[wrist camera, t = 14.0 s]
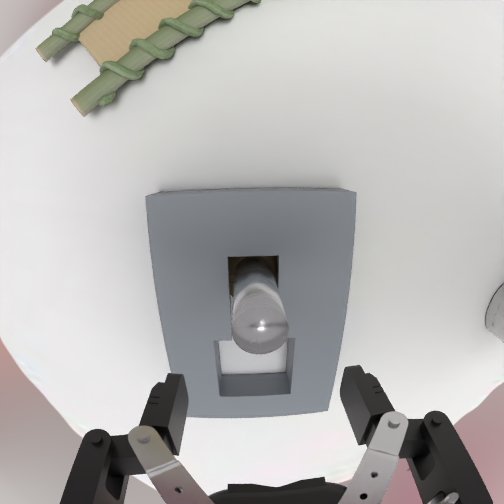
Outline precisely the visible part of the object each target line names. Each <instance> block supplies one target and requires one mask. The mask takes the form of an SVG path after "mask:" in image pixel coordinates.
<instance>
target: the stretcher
mask: <svg viewBox="0 0 504 504" xmlns="http://www.w3.org/2000/svg"><path fill="white" fill-rule="evenodd" d="M249 1H252V2H254V3H259V2H260V1H261V0H94V1H93V2H91V3H90V4H89V5H88V6H86V5H84V4H82V5H80V6H78V7H77V8H75V9H74V11H73V14H72V19H71V20H70V21H68V22H67V23H66V24H65V25H64V26H63V27H61V28H55V29H54V30H53V31H52V35H51V36H50V37H49V38H47V39H46V40H45V41H44V42H43V43H41V44H40V45H39V46H38V47H37V48H36V50H37V52H38V53H39V55H40V56H41V57H42V59H43V60H44V61H45V62H47V61H48V60H49V59H50V58H52V57H53V56H54V55H55V54H56V53H57V52H59V51H60V50H61V49H62V48H63V47H65V46H66V45H67V44H68V43H70V42H71V41H73V42H77V41H80V42H81V44H82V45H83V46H84V47H85V48H86V50H87V51H88V52H89V53H90V54H91V56H92V57H93V58H94V59H95V60H96V62H97V63H98V64H99V65H100V66H101V68H100V73H101V75H100V76H98V77H97V78H96V79H95V80H93V81H92V82H91V83H90V84H88V85H87V86H86V87H85V88H83V89H82V90H81V91H80V92H79V93H78V94H76V95H75V96H74V97H73V98H72V99H71V102H72V103H73V105H74V106H75V107H76V109H77V110H78V111H79V112H80V113H81V114H82V115H83V116H84V117H85V116H86V115H87V114H88V113H89V112H90V111H92V110H93V109H94V108H95V107H96V106H97V105H99V104H100V106H105V105H107V104H109V103H111V102H112V101H113V99H114V98H115V96H116V92H115V91H116V90H117V89H118V88H119V87H121V86H122V85H123V84H124V83H125V82H126V81H128V80H137V79H140V78H141V77H142V75H143V73H144V71H145V70H144V67H145V66H146V65H148V64H149V63H150V62H152V61H153V60H154V59H156V58H158V59H161V60H162V59H168V58H170V57H172V55H173V53H174V51H175V48H174V45H175V44H177V43H178V42H180V41H181V40H183V39H185V38H186V37H188V36H192V37H199V36H201V34H202V33H203V31H204V26H205V25H207V24H208V23H210V22H212V21H214V20H215V19H217V18H219V17H221V18H226V19H230V18H232V16H233V15H234V11H233V9H235V8H237V7H239V6H241V5H243V4H245V3H247V2H249Z"/></svg>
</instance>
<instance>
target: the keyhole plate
mask: <svg viewBox="0 0 504 504" xmlns="http://www.w3.org/2000/svg"><path fill="white" fill-rule="evenodd" d="M146 210H147V222H148V233H149V243H150V252H151V260H152V268H153V276H154V283H155V290H156V296H157V303H158V309H159V314H160V320H161V326H162V331H163V336H164V341H165V346H166V351H167V356H168V361H169V365H170V370H171V373H175V374H183V375H184V378H185V383H186V387H187V392H188V398H189V404H188V410H187V415H186V417H199V418H255V417H274V416H287V415H298V414H307V413H315V412H323V411H328V408H329V403H330V399H331V394H332V390H333V385H334V380H335V375H336V370H337V365H338V360H339V354H340V349H341V343H342V337H343V331H344V324H345V317H346V310H347V303H348V295H349V287H350V278H351V268H352V257H353V245H354V231H355V214H356V192H353V191H349V190H344V189H332V188H234V189H206V190H186V191H170V192H158V193H155V194H151V195H148V196H146ZM240 256H277V288H278V291H279V294H280V298H281V301H282V304H283V308H284V311H285V314H286V318H287V321H288V325H289V334H288V337H287V338H288V349H287V365H286V372H284V373H267V374H239V375H221V366H220V356H219V345H218V341H219V340H232V323H231V305H230V285H229V263H228V257H240Z"/></svg>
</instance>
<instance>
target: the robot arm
mask: <svg viewBox="0 0 504 504" xmlns="http://www.w3.org/2000/svg"><path fill="white" fill-rule="evenodd" d="M486 327H487V329H488V330H489V331H490V332H492V333H493V334H494V335H495V336H497V337H498V338H499V339H500V340H501V341H502V342H504V284H503V285H502V286H501V287H500V288H499V289H498V291H497V292H496V294H495V295H494V297H493V299H492V301H491V303H490V305H489V308H488V311H487V315H486ZM340 397H341V401H342V403H343V406H344V408H345V411H346V414H347V416H348V419H349V421H350V424H351V427H352V429H353V432H354V435H355V437H356V440H357V443H358V445H363V444H366V445H367V450H366V452H365V454H364V456H363V458H362V460H361V462H360V464H359V466H358V468H357V470H356V472H355V474H354V476H353V478H352V479H351V481H350V483H349V485H348V487H345V486H343V485H339V484H336V483H330V482H325V478H324V477H320V478H313V479H306V480H300V481H297V482H294V483H291V484H288V485H284V486H281V487H270V486H263V485H256V484H228V489H227V490H222V491H219V492H216V493H214V494H211V495H210V496H207V495H206V493H205V492H204V491H203V490H202V489H201V488H200V486H199V485H198V484H197V483H196V482H195V480H194V479H193V478H192V477H191V475H190V474H189V473H188V472H187V470H186V469H185V468H184V466H183V465H182V464H181V463H180V462H179V461H177V460H176V459H175V457H174V456H173V455H177V456H179V452H180V446H181V441H182V436H183V431H184V425H185V420H186V415H187V410H188V404H189V398H188V392H187V387H186V383H185V378H184V375H183V374H175V373H168V375H167V377H166V380H165V383H161V382H158V383H157V384H156V385H155V386H154V387H153V388H152V390H151V393H150V395H149V398H148V401H147V404H146V407H145V409H144V412H143V415H142V418H141V421H140V424H139V426H137V427H135V428H133V429H132V430H131V431H130V432H129V434H126V435H118V436H110V435H109V433H108V432H106V431H105V430H102V429H94V430H91V431H89V432H87V433H86V434H85V436H84V438H83V440H82V443H81V445H80V448H79V451H78V453H77V456H76V459H75V461H74V464H73V466H72V469H71V472H70V475H69V478H68V480H67V483H66V486H65V489H64V492H63V495H62V499H61V502H60V504H124V499H125V494H126V489H127V484H128V479H129V475H136V474H147V475H148V477H149V478H150V480H151V481H152V483H153V485H154V486H155V488H156V489H157V491H158V492H159V494H160V495H161V497H162V498H163V500H164V501H165V503H166V504H380V503H381V501H382V499H383V497H384V495H385V492H386V490H387V488H388V485H389V483H390V480H391V478H392V476H393V473H394V471H395V468H396V466H397V463H398V460H399V458H406V459H407V462H408V464H409V467H410V470H411V472H412V475H413V478H414V480H415V483H416V485H417V488H418V491H419V494H420V497H421V499H422V502H423V504H493V501H492V499H491V497H490V494H489V492H488V490H487V489H486V486H485V484H484V482H483V481H482V478H481V476H480V474H479V472H478V470H477V468H476V467H475V465H474V463H473V461H472V459H471V457H470V455H469V453H468V451H467V450H466V448H465V446H464V444H463V443H462V441H461V439H460V437H459V435H458V434H457V432H456V430H455V429H454V427H453V425H452V423H451V422H450V420H449V418H448V417H447V416H446V415H445V414H444V413H442V412H440V411H431V412H429V413H427V414H426V415H425V417H424V419H407V417H406V416H405V415H404V414H402V413H400V412H396V411H395V410H394V408H393V406H392V404H391V403H390V401H389V399H388V397H387V395H386V394H385V392H384V390H383V388H382V387H381V385H380V383H379V381H378V380H377V378H376V377H374V376H373V375H372V374H370V373H367V374H365V373H364V371H363V369H362V367H361V366H360V365H356V366H349V367H345V369H344V373H343V378H342V382H341V387H340Z"/></svg>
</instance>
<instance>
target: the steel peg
mask: <svg viewBox="0 0 504 504" xmlns="http://www.w3.org/2000/svg"><path fill="white" fill-rule="evenodd" d="M228 263H229V285H230V295H232V296H233V297H234V301H233V323H232V335H233V339H234V341H235V343H236V344H237V345H238V346H239V347H240V348H241V349H243V350H244V351H246V352H249V353H253V354H266V353H270V352H273V351H275V350H277V349H278V348H279V347H281V346H282V345H283V344H284V342H285V341H286V339H287V337H288V334H289V325H288V321H287V318H286V314H285V311H284V308H283V304H282V301H281V298H280V294H279V291H278V288H277V256H240V257H228Z"/></svg>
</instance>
